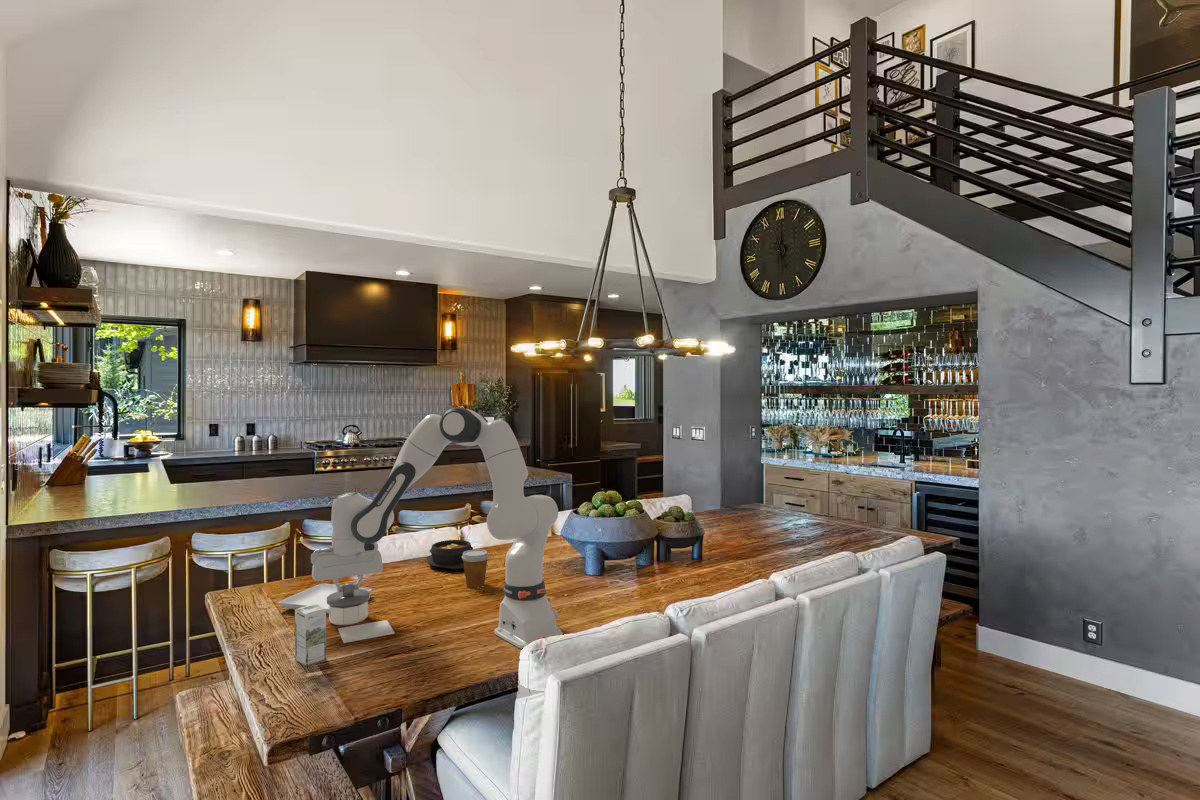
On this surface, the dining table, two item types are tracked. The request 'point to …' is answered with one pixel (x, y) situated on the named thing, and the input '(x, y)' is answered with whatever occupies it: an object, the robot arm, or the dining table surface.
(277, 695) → the dining table surface
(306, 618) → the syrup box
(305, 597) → the salad plate
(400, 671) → the dining table surface
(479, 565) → the disposable coffee cup
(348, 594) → the lid
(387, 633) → the mat
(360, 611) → the bowl
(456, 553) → the casserole
